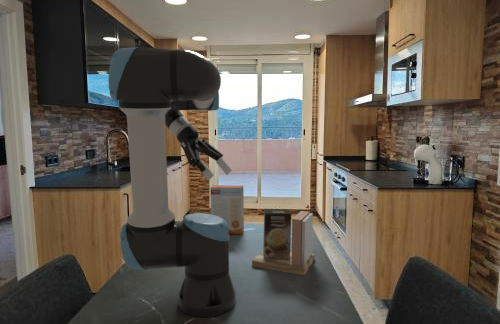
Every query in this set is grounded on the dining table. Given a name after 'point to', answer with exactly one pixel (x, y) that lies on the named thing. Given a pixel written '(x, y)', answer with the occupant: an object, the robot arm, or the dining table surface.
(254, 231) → the dining table surface
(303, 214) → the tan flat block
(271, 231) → the coffee box
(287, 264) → the shelf board
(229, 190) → the cracker box
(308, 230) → the bookend
